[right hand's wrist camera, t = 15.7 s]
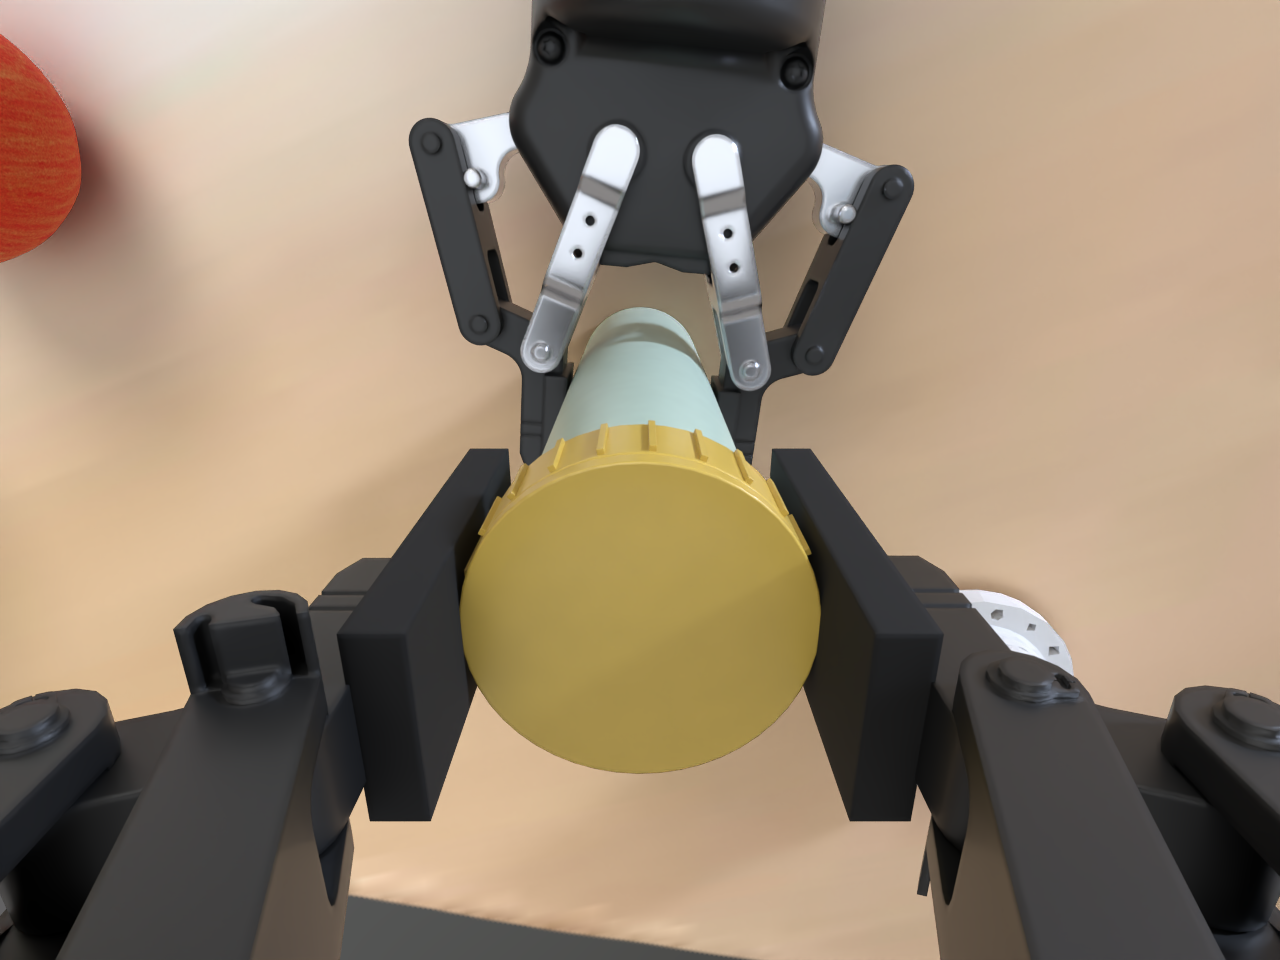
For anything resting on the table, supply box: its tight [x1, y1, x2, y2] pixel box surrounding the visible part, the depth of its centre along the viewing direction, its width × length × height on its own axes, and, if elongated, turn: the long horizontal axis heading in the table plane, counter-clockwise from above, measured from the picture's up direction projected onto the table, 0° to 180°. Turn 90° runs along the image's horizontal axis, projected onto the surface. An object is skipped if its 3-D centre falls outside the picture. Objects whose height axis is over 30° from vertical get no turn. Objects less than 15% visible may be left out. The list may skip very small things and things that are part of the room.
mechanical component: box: [959, 590, 1074, 676], centre depth 31 cm, size 10×4×10 cm
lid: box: [459, 420, 821, 774], centre depth 11 cm, size 5×5×2 cm
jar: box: [542, 307, 736, 455], centre depth 19 cm, size 4×4×19 cm
